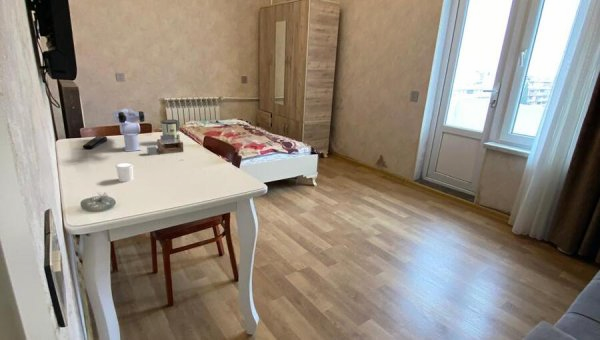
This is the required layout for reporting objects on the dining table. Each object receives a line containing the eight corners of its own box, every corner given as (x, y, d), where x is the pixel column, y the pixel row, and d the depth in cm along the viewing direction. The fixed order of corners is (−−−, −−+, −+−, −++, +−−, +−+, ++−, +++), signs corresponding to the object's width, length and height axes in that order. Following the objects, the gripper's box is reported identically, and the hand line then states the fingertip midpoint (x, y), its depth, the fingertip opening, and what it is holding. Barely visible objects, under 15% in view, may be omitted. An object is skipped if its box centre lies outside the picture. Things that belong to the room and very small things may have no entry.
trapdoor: (159, 140, 194) (159, 135, 193) (174, 139, 199) (174, 134, 198) (163, 144, 187) (163, 139, 186) (178, 142, 191) (178, 137, 190)
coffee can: (173, 139, 216) (171, 118, 212) (183, 142, 211) (182, 121, 207) (159, 142, 208) (157, 120, 204) (169, 145, 203) (168, 123, 198)
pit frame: (157, 148, 195) (156, 138, 193) (177, 146, 201) (177, 137, 199) (162, 153, 185) (161, 143, 183) (183, 151, 191) (182, 141, 189)
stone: (147, 153, 184) (146, 145, 183) (155, 152, 187) (154, 145, 185) (148, 155, 181) (148, 147, 180) (156, 154, 184) (156, 147, 182)
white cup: (123, 183, 141) (121, 168, 139) (114, 179, 144) (112, 165, 142) (138, 179, 147) (136, 164, 144) (129, 175, 150) (127, 161, 148)
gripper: (113, 109, 175) (116, 110, 164) (143, 108, 183) (147, 109, 172) (115, 122, 176) (118, 124, 166) (144, 120, 184) (149, 123, 173)
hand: (133, 118), depth 169 cm, fingers open, 7 cm apart
